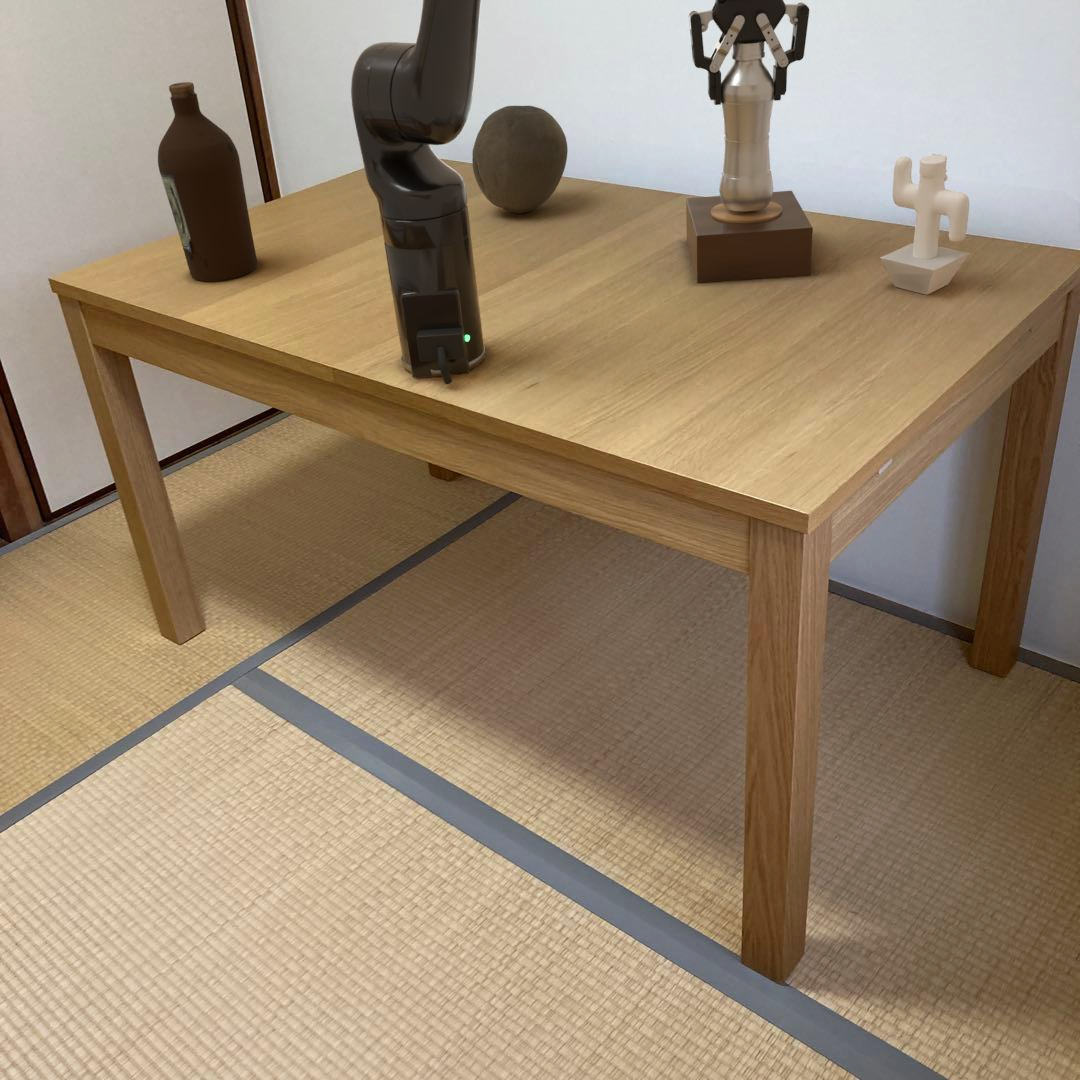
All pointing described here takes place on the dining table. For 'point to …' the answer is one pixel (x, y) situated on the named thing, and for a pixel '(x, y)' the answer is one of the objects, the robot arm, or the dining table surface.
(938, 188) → the figurine
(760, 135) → the metal bottle
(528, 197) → the cantaloupe
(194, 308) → the dining table surface
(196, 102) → the olive oil
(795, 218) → the walnut box
